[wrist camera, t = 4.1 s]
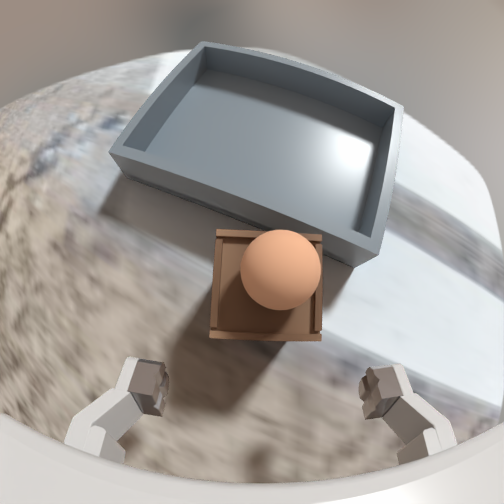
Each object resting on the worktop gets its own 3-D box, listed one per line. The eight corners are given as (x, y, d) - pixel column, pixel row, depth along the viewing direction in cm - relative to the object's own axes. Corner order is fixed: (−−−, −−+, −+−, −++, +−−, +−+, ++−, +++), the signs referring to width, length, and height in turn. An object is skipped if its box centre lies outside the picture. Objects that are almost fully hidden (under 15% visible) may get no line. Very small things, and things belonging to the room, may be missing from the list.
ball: (221, 301, 11) (238, 267, 8) (247, 242, 13) (269, 200, 10) (290, 330, 11) (326, 307, 9) (307, 271, 13) (341, 236, 10)
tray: (127, 177, 21) (108, 151, 17) (205, 70, 24) (201, 41, 20) (354, 267, 19) (378, 255, 16) (386, 132, 23) (403, 106, 19)
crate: (223, 331, 18) (209, 337, 11) (226, 263, 19) (216, 228, 12) (291, 333, 18) (321, 341, 11) (293, 267, 19) (321, 234, 12)
